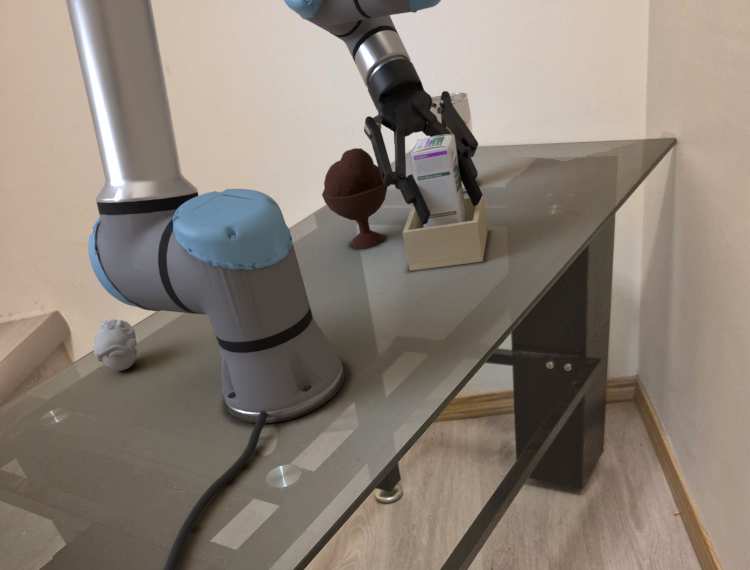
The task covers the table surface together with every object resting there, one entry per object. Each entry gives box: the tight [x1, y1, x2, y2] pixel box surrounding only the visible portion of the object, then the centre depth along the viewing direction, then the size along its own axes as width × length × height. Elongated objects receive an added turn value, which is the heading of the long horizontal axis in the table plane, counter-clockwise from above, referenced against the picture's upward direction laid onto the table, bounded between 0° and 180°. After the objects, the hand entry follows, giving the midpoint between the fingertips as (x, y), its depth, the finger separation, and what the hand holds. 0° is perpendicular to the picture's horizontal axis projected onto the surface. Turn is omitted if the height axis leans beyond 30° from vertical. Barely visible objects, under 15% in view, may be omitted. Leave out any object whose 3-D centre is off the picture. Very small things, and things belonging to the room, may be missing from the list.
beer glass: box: [430, 92, 473, 193], centre depth 131 cm, size 7×7×15 cm
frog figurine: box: [93, 318, 138, 372], centre depth 105 cm, size 6×7×7 cm
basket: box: [402, 194, 488, 272], centre depth 113 cm, size 11×11×6 cm
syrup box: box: [410, 134, 467, 228], centre depth 109 cm, size 6×6×14 cm
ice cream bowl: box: [321, 147, 388, 250], centre depth 120 cm, size 11×11×15 cm
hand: (452, 209), depth 107 cm, fingers closed on syrup box, 8 cm apart
